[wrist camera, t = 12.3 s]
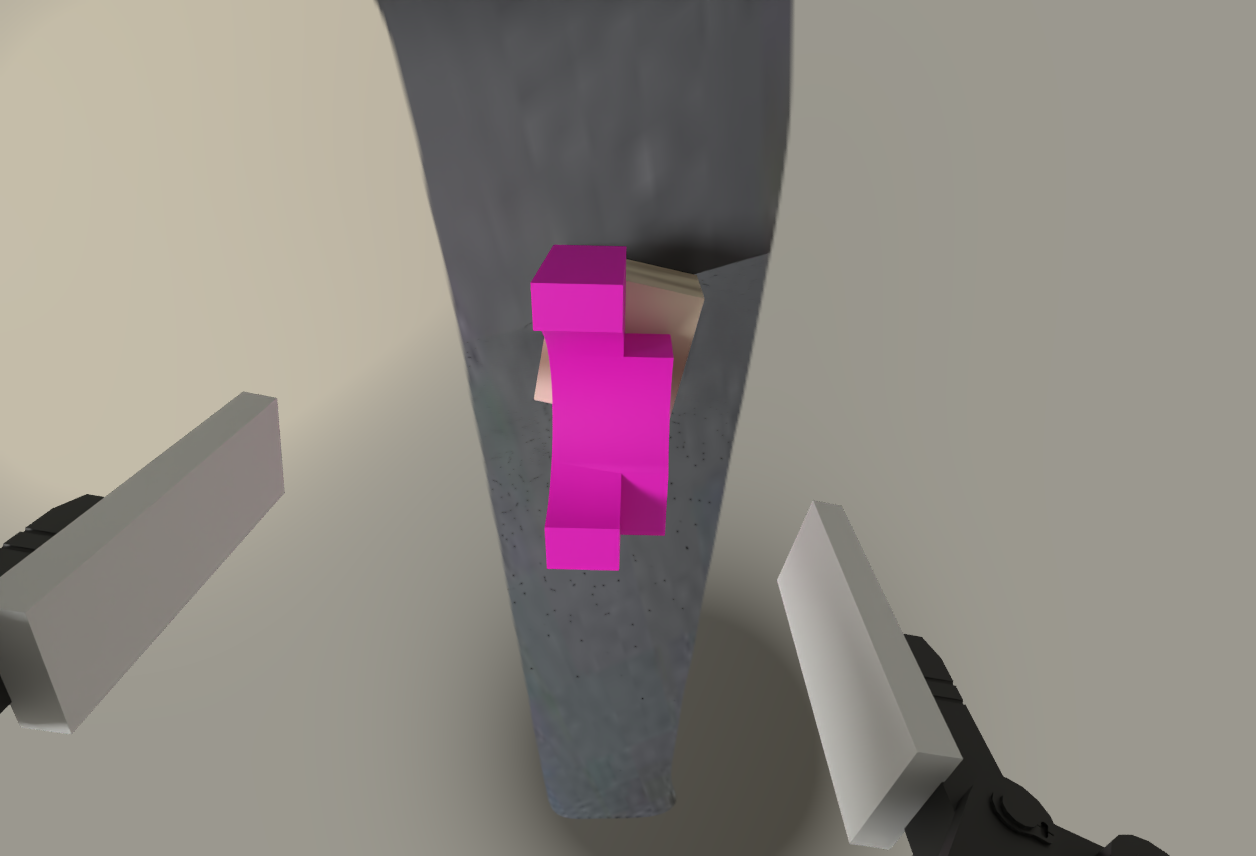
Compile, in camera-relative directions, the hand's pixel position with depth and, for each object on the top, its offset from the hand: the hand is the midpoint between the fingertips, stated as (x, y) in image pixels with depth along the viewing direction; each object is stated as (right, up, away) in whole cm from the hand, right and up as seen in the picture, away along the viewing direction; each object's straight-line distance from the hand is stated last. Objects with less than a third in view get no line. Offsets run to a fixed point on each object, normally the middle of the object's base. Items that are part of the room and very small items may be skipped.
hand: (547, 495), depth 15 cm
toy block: (+1, +4, +20) cm, 20 cm away
